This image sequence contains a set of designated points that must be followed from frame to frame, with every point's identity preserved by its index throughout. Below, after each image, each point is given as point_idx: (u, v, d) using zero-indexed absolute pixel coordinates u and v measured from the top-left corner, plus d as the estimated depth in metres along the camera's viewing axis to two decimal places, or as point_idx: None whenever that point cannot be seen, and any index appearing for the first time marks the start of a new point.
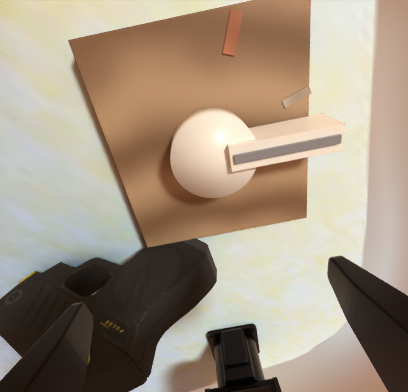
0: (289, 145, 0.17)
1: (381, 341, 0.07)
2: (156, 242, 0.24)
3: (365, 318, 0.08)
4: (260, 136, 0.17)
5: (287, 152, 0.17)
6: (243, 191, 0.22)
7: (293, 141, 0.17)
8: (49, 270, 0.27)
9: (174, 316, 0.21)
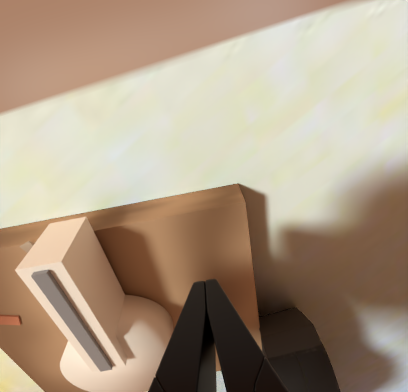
0: (70, 328, 0.12)
1: None
2: None
3: None
4: None
5: (81, 329, 0.12)
6: (187, 290, 0.16)
7: (66, 321, 0.12)
8: None
9: None
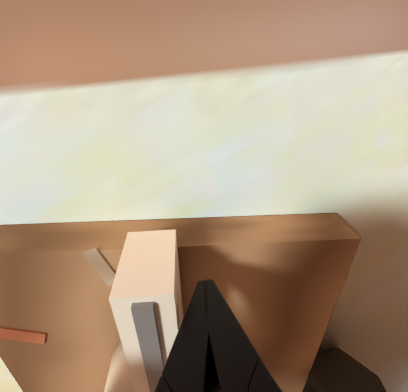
0: (147, 373, 0.09)
1: None
2: None
3: None
4: None
5: (160, 374, 0.09)
6: (254, 324, 0.14)
7: (142, 363, 0.09)
8: None
9: None
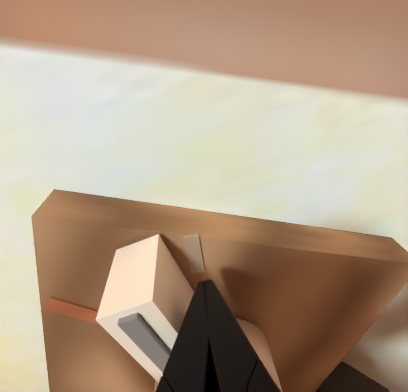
0: None
1: None
2: None
3: None
4: None
5: None
6: (299, 330, 0.14)
7: (161, 368, 0.09)
8: None
9: None
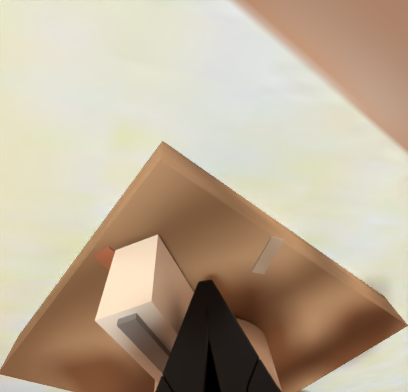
0: None
1: None
2: None
3: None
4: None
5: None
6: (292, 352, 0.15)
7: (160, 369, 0.09)
8: None
9: None
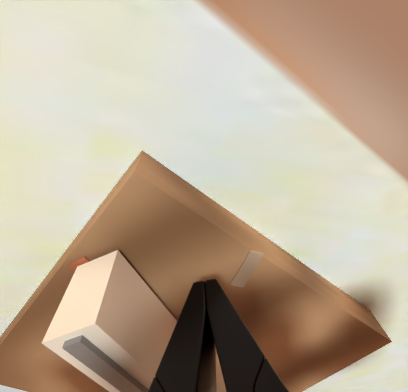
0: None
1: None
2: None
3: None
4: None
5: None
6: (273, 365, 0.15)
7: (120, 387, 0.09)
8: None
9: None
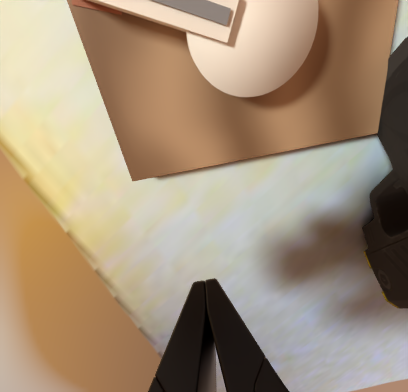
0: None
1: None
2: (373, 120, 0.17)
3: None
4: (178, 27, 0.12)
5: None
6: None
7: None
8: (367, 240, 0.24)
9: None
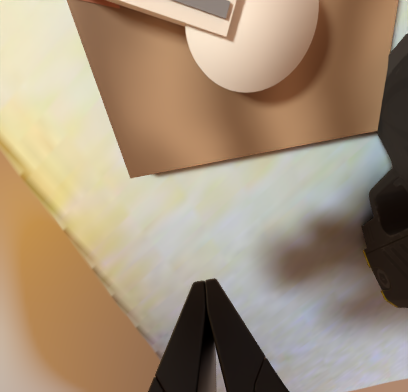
0: None
1: None
2: (373, 117, 0.17)
3: None
4: (177, 21, 0.12)
5: None
6: None
7: None
8: (366, 239, 0.24)
9: None
